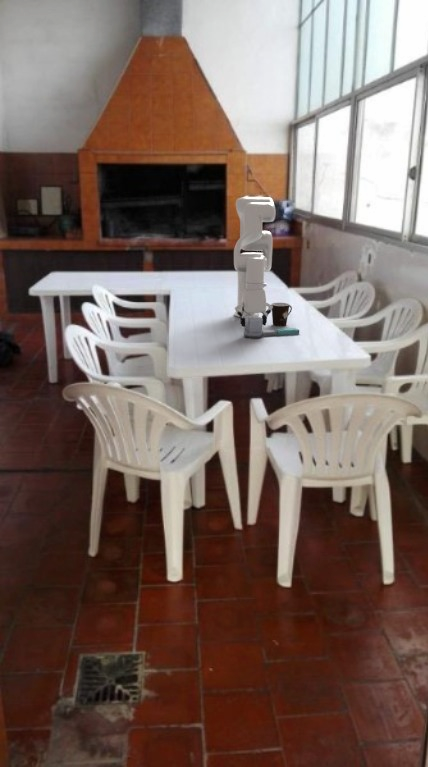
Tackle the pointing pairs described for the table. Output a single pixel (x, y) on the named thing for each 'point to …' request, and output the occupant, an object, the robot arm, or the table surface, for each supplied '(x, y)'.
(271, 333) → the ratchet
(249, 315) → the robot arm
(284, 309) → the coffee mug
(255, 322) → the brushed metal cube
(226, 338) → the table surface
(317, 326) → the table surface
